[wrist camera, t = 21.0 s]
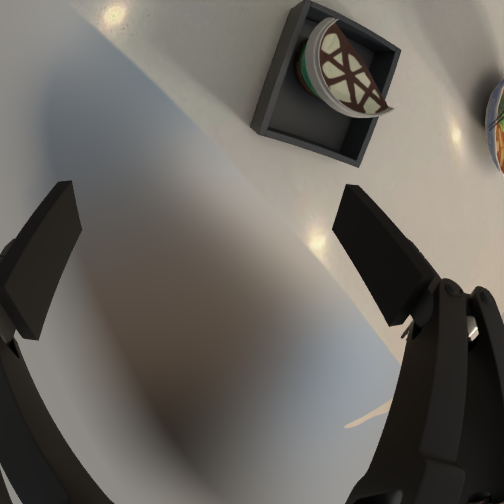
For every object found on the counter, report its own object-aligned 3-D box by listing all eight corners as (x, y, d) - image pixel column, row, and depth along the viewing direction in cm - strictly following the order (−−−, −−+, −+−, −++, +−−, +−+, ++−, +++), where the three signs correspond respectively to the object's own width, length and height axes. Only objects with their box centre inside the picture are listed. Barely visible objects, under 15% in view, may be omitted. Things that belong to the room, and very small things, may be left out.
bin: (249, 127, 34) (258, 134, 29) (290, 9, 25) (305, -2, 21) (340, 156, 38) (358, 168, 33) (378, 51, 29) (401, 50, 25)
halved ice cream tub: (263, 53, 28) (286, 42, 20) (301, 29, 27) (335, 14, 18) (319, 126, 34) (356, 143, 26) (353, 102, 33) (396, 113, 25)
